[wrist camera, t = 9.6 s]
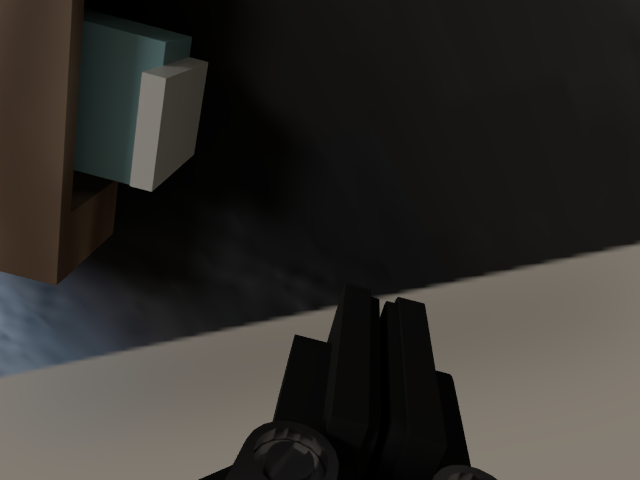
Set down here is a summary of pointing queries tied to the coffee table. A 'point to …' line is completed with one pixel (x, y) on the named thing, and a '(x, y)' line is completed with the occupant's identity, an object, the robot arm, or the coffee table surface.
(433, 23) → the coffee table surface
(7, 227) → the walnut rack
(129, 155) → the teal shell
